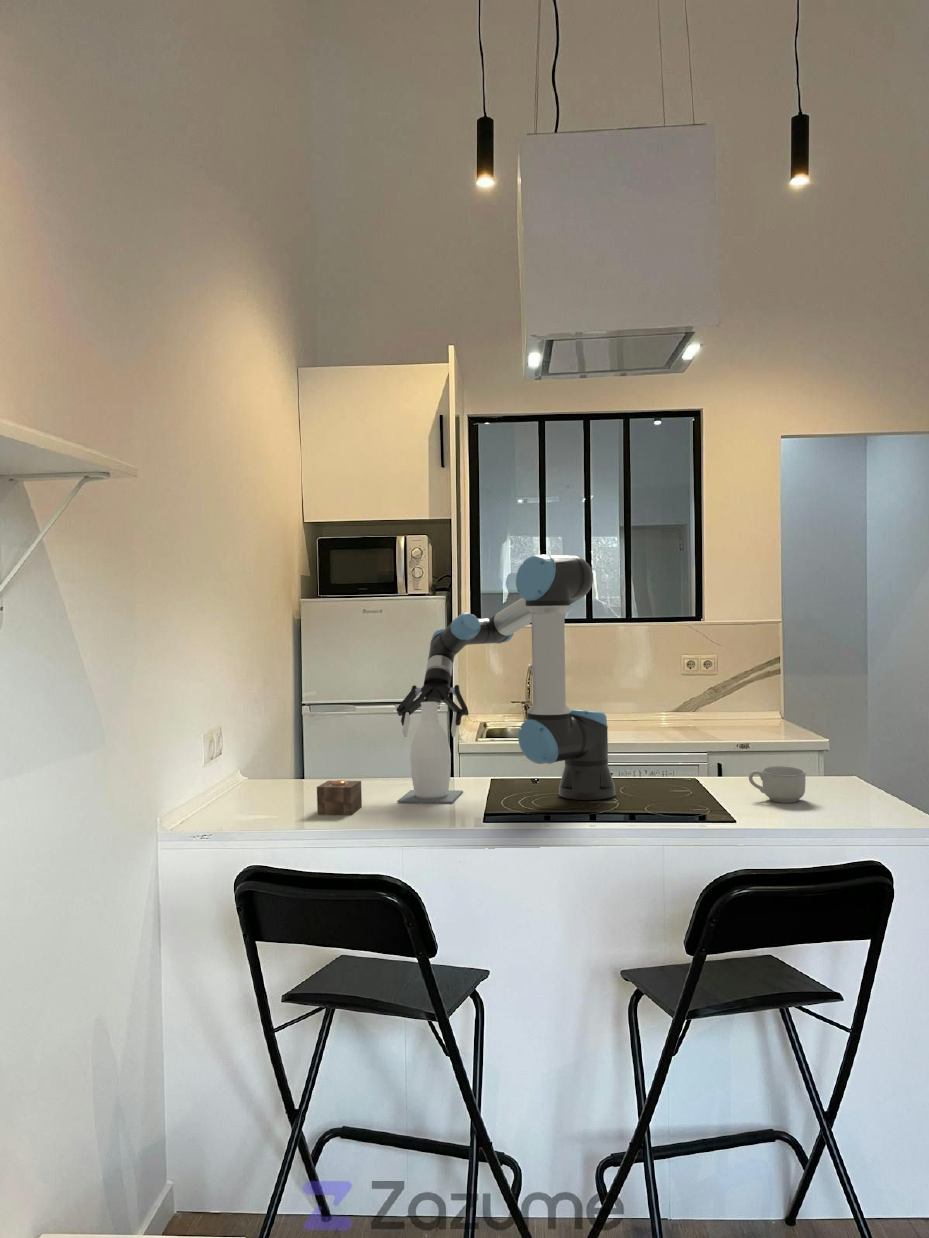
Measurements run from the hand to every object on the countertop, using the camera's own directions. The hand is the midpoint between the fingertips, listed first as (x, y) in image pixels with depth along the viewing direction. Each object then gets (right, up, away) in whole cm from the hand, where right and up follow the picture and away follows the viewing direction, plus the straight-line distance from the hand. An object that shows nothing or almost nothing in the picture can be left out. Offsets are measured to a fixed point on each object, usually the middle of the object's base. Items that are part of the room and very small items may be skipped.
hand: (428, 733), depth 263 cm
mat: (+1, -17, -2) cm, 17 cm away
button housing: (-22, -18, -15) cm, 33 cm away
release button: (-22, -16, -15) cm, 32 cm away
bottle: (+1, -17, -2) cm, 17 cm away
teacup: (+90, -15, -17) cm, 93 cm away
